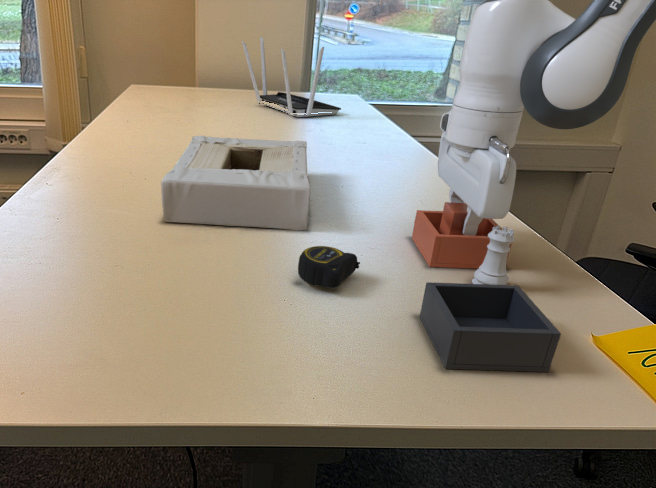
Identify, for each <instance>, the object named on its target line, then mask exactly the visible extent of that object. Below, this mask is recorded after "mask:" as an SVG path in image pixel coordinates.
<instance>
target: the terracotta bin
mask: <svg viewBox="0 0 656 488" xmlns="http://www.w3.org/2000/svg"><path fill="white" fill-rule="evenodd" d="M442 214H443V210H423V209H416V211H415V217H414V218H415V219H414V224H413V230H412V235H411V239H412V241H413V243H414V244H415V246H416V247H417V249H418V251H419V252H420V254H421V255H422V257H423V259H424V260H425V262H426V264H427V265H428V266H429V268H450V269H451V268H452V269H453V268H455V269H479V267H480V266H481V265H482V264H483V262H484V259H485V257H486V254H487V251H488V248H487V245H488V244H489V243H490V239H489V237H488V234H489V233H490V232H491V231H492V228H493V227H496V226H500V225H499V224H498V223H497V222H496V221H495V219H487V218H485V220H484V225H483V229H482V233H481V236H470V235H443V234H441V233H440V232H439V229H440V224H441V219H442ZM500 230H503V228H502V227H501V226H500ZM512 244H513V242H512V243H511V244H510V245H509V248H510V249H511V248H512ZM509 255H510V251H509V252H508V255H507V260H506V264H508V263H507V262H508V259H509Z"/></svg>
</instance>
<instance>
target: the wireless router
mask: <svg viewBox="0 0 656 488" xmlns="http://www.w3.org/2000/svg"><path fill="white" fill-rule="evenodd" d="M259 43H260V58H261V59H260V62H261V82H262V94H260V92H259V87H258V85H257V81H256V76H255V74H254V73H255V72H254V70H253V69H254V68H253V66H252V61H251V58H250V54H249V51H248V47H247V44H246V43H245V42H244V41H243V40H241V44H242V48H243V51H244V55H245V60H246V63H247V67H248V71H249V75H250V79H251V82H252V83H251V84H252V86H253V90H254V94H255V98H256V102H257V101H259V102H261V101H265V102H269V103H274V104H277V105H279V106H280V107H282V108H285V109H288V111H289V112H288V111H285V110H282V109H279V108H276V107H273V106H270V105H267V104H265V105H267V106H270V107H272V108H275V109H278V110H281V111H283V112H282V113H284V112H286V113H285V114H287V113H288V114H287V115H289V116H291V115H290V114H289V113H306V114H307V115H306V114H304V115H297V114H293V115H292V116H293V117H295V118H307V117H318V116H329V115H330V116H332V115H337V113H338V112H339V111H341V110H342V108H341V107H339V106H337V105H336V106H335V105H332V104H328V103H325V102H322V101H318V100H315V97H316V92H317V86H318V81H319V76H320V71H321V65H322V62H323V61H322V60H323V55H324V50H325V46H321V48H320V49H319V51H318V55H317V60H316V66H315V69H314V74H313V80H312V84H311V89H310V94H309V98H307V97H305V96H302V95H301V96H300V95H295V94H292V93H291V88H290V80H289V72H288V71H289V70H288V66H287V65H288V64H287V56H286V52H285V50H284V49H283V48H282V47H281V48H280V52H281V61H282V69H283V77H284V84H285V92H281V91H278V92H277V93H276V94H268V83H267V67H266V54H265V53H266V52H265V39H264V38H263V36H259ZM263 104H264V103H262V105H263ZM272 108H271V109H272ZM275 109H274V110H275ZM278 110H277V111H278ZM281 111H280V112H281ZM318 112H332V113H318ZM311 113H318V114H311Z"/></svg>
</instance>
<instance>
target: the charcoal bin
mask: <svg viewBox="0 0 656 488" xmlns="http://www.w3.org/2000/svg"><path fill="white" fill-rule="evenodd" d="M419 319H420V321H421V322H422V325H423V327H424V330H425V331H426V333H427V335H428V337H429V339H430V341H431V343H432V345H433V347H434V349H435V351H436V353H437V355H438V357H439V359H440V361H441V363H442V365H443V367H444V369H445V370H470V371H472V370H473V371H501V372H502V371H503V372H509V371H510V372H536V373H549V372H550V369H551V365H552V362H553V360H554V357H555V354H556V350H557V347H558V345H559V341H560V339H561V336H562V333H561V332H560V331H559V329H558V328H557V327H556V326H555V325H554V324H553V323H552V322H551V320H550V319H549V318H548V317H547V316H546V315H545V314H544V313H543V312H542V310H541V309H540V308H539V307H538V306H537V305H536V304H535V302H534V301H533V300H532V299H531V298H530V297H529V295H528V294H527V293H526V292H525V291H524V290H523V289H522V287H521V286H520V285H519V284H518V285H517V284H516V285H515V284H507V285H490V284H473V283H462V282H461V283H460V282H459V283H457V282H431V281H427V282H426V283H425V288H424V292H423V298H422V303H421V307H420V313H419Z"/></svg>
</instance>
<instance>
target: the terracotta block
mask: <svg viewBox="0 0 656 488" xmlns="http://www.w3.org/2000/svg"><path fill="white" fill-rule="evenodd" d="M467 207H468V206H467V205H466V204H465V202H464V203H451V202H450V201H446V202H444V203H443V210H442V211H443V214H442V219H441V224H440V229H439V232H440V233H441V234H443V235H464V234H463V233H462V232H461V227H462V221H465V219H466V217H467V214H468V212H467ZM484 220H485V218H483V219H482V221H481V222H480V224H479V225H478V229H477V233H476V235H475V236H481V233H482V229H483V225H484Z"/></svg>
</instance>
